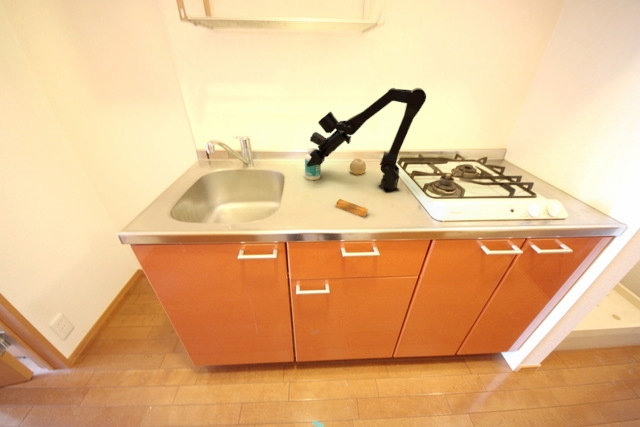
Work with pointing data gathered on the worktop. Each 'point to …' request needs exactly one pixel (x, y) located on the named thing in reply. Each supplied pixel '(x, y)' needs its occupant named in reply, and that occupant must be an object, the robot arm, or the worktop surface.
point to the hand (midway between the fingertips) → (310, 163)
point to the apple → (357, 166)
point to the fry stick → (352, 207)
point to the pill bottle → (312, 168)
